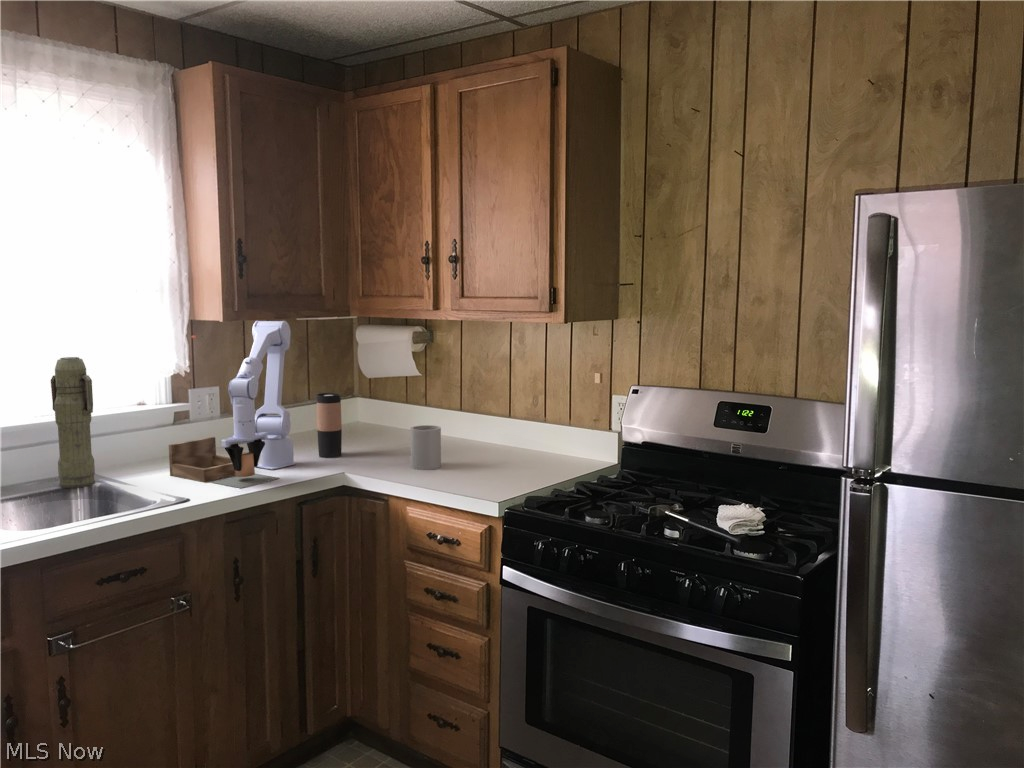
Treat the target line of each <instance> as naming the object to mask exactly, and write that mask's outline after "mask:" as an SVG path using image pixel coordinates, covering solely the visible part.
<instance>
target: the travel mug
mask: <svg viewBox="0 0 1024 768" xmlns="http://www.w3.org/2000/svg"><path fill="white" fill-rule="evenodd" d="M341 395H342V394H341V393H338V392H323V393H322V392H321V393H318V394H316V423H317V424H316V425H317V426H316V429H317V430H316V431H317V446H318V457H319V458H323V459H335V458H338V457H341V456H342V444H343V443H342V438H343V437H342V436H343V433H342V428H343V427H342V397H341Z"/></svg>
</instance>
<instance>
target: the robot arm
mask: <svg viewBox="0 0 1024 768" xmlns="http://www.w3.org/2000/svg"><path fill="white" fill-rule="evenodd" d="M251 330H252V331H251V334H252V339H253V343H252V346H251V349H250V353H249V356H248V357H246V358H244V359H243V361H242V363H241V366H240V368H239V370H238V373H237V374H236V377H234V378H233V379H231V380H230V381H229V383H228V389H227V392H228V395H229V399H230V404H231V405H232V414H233V416H232V417H233V419H232V420H233V435H232V436H231V437H227V438H223V439H221V441H220V443H221V445H220V447H222V448H224V450H225V451H226V453H227V454H228V457H230V459H231V461H232V464H233V467H234V470H236V471H241V459H242V452H243V451H244V447H242V446H240V445H242V444H243V445H244V444H246V446H247V448H248V452H252V453H253V455H254V468H258V469H259V468H260V469H266V470H270V471H271V470H277V469H282V468H285V467H291V466H293V465H296V462H294V443H293V440H292V438H291V437H290V436H289V434H290V432H291V428H292V427H291V426H292V425H291V424H292V423H291V418H290V417H291V414H290V412H289V411H288V410H287V409H286V407H284V406H283V405H282V398H283V397H282V396H283V381H284V368H285V367H284V366H285V365H284V364H285V353H286V351H288V350H289V349H290V345H291V332H292V331H291V328H290V324H289V323H288V322H287V321H286V320H279V321H278V320H271V321H270V320H255V321H254V323H253V325H252V329H251ZM266 353H267V360H266V375H265V385H264V386H265V389H264V401H263V403H264V404H263V405H262V406H261V407H260V408H258V409H257V410H256V408H255V398H256V397H257V395H258V390H259V385H260V384H259V383H260V382H259V378H260V376H261V373H262V371H263V369H264V365H263V363H262V361H263V359H264V357H265V355H266ZM255 410H256V411H255ZM259 460H260V463H259Z"/></svg>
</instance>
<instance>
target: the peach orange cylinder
mask: <svg viewBox="0 0 1024 768" xmlns="http://www.w3.org/2000/svg"><path fill="white" fill-rule="evenodd" d="M255 471H256V470H255V467H254V455H253V453H252V452H249V451H244V452H242V459H241V471H236V470H235V475H234V476H235V477H247V476H252V475H255V473H256V472H255Z"/></svg>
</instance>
